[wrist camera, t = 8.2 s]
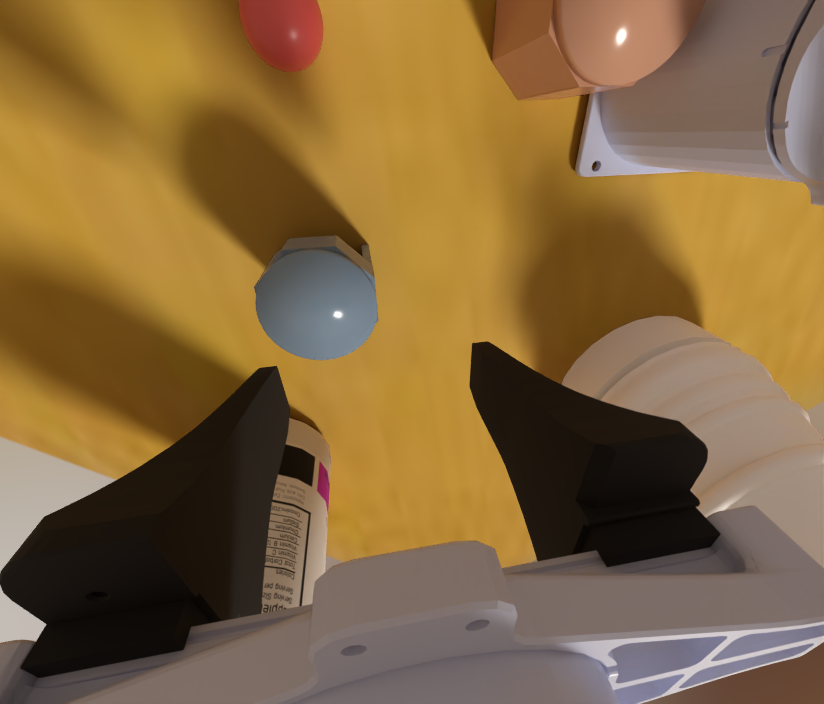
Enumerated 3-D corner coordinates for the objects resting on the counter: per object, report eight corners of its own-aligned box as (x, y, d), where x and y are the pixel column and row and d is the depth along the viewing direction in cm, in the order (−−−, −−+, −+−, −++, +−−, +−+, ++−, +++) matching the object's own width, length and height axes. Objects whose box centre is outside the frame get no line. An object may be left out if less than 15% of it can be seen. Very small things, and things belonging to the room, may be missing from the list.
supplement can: (351, 455, 28) (354, 714, 16) (268, 497, 29) (209, 770, 17) (285, 391, 24) (216, 676, 11) (191, 443, 25) (33, 755, 12)
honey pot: (525, 418, 29) (715, 723, 14) (638, 287, 24) (1131, 548, 9) (622, 453, 34) (842, 708, 19) (734, 350, 29) (1161, 589, 14)
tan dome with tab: (613, -48, 15) (751, -144, 10) (584, 98, 17) (681, 83, 12) (500, -52, 14) (584, -155, 9) (488, 100, 17) (549, 86, 12)
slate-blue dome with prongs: (365, 217, 19) (372, 247, 14) (373, 302, 21) (381, 354, 16) (269, 222, 18) (240, 256, 13) (290, 310, 21) (272, 365, 16)
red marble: (318, -20, 14) (312, -54, 11) (330, 76, 15) (327, 65, 13) (239, -21, 13) (215, -57, 11) (260, 77, 15) (242, 66, 13)
